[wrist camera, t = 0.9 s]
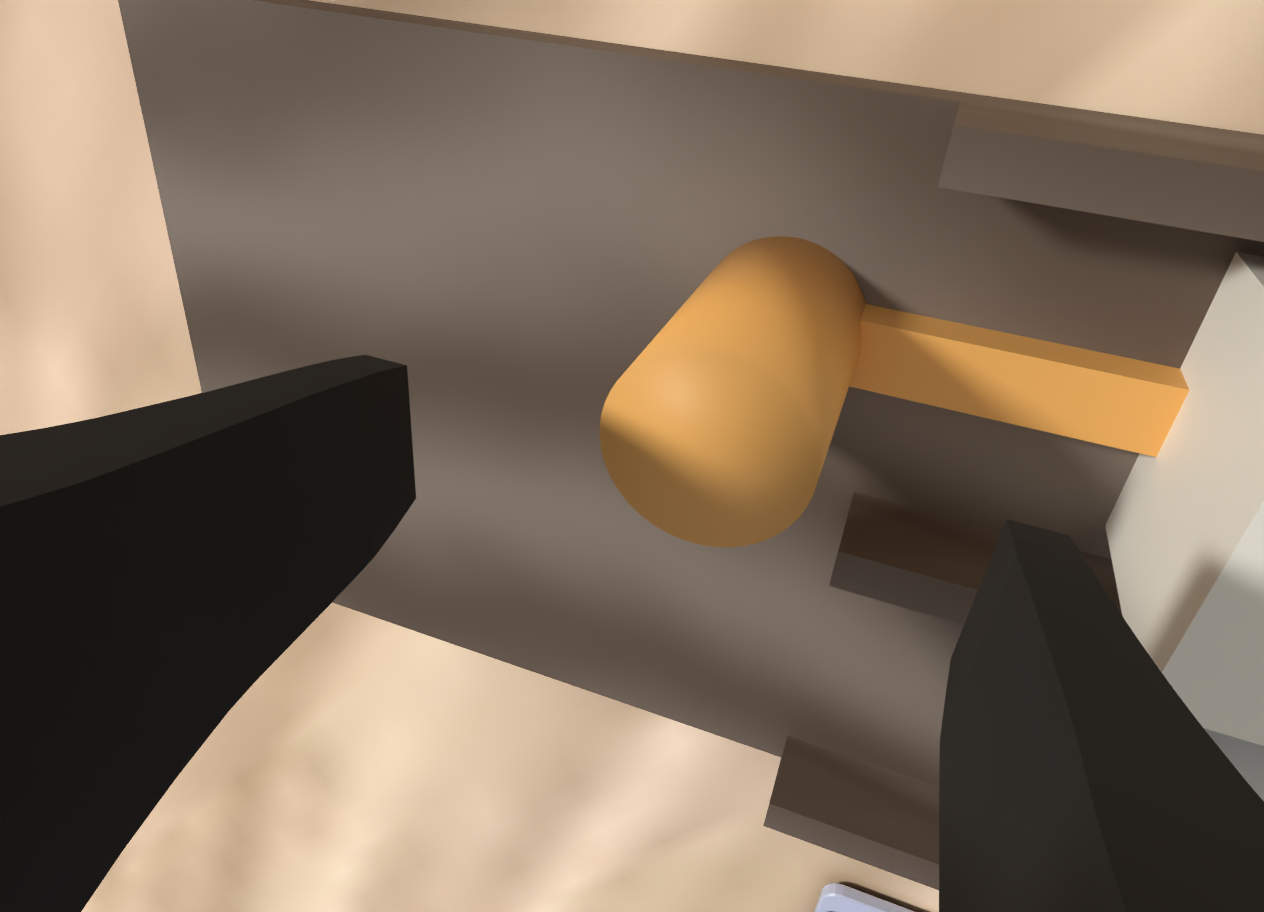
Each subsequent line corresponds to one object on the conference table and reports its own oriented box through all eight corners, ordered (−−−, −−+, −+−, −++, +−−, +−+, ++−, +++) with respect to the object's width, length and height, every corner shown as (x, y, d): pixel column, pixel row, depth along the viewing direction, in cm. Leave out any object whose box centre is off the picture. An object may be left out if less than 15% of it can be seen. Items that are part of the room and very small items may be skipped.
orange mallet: (1435, 608, 14) (1617, 881, 10) (685, 419, 17) (589, 566, 13) (1661, 325, 11) (2036, 539, 7) (719, 163, 14) (612, 248, 10)
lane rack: (1253, 882, 19) (1291, 1019, 17) (263, 550, 26) (187, 614, 23) (1811, 212, 11) (2041, 288, 8) (154, -22, 17) (18, -17, 15)
